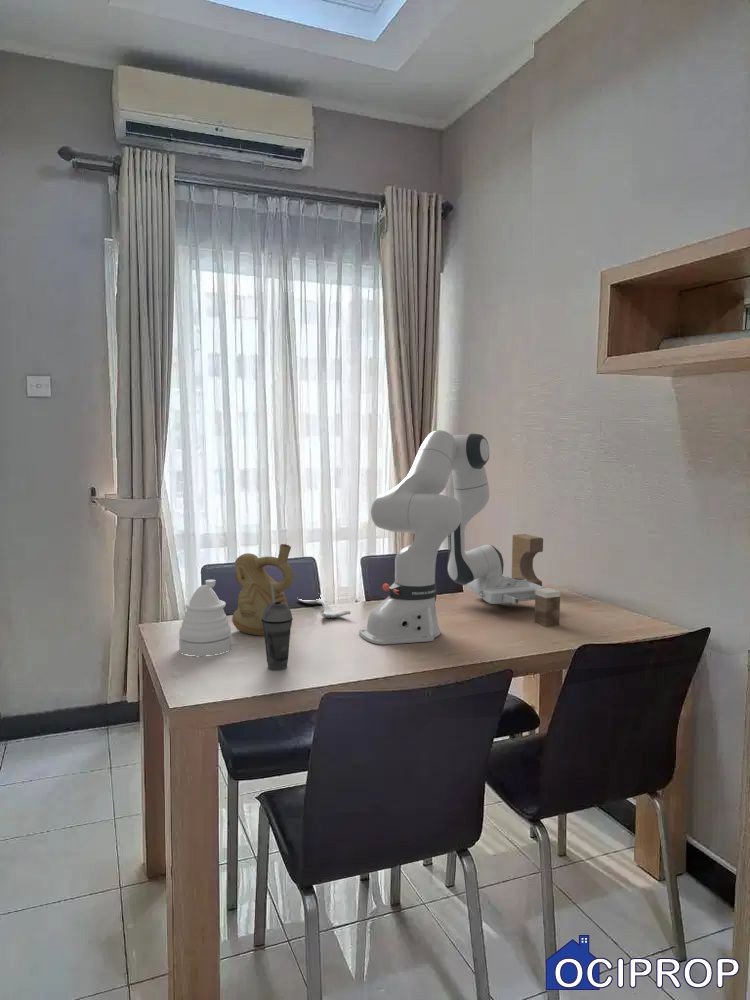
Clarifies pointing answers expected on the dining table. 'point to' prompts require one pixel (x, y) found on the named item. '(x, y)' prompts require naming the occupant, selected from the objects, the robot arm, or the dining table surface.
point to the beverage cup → (277, 633)
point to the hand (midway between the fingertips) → (529, 599)
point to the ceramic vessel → (259, 588)
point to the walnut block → (547, 607)
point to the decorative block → (525, 556)
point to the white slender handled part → (326, 608)
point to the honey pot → (205, 624)
